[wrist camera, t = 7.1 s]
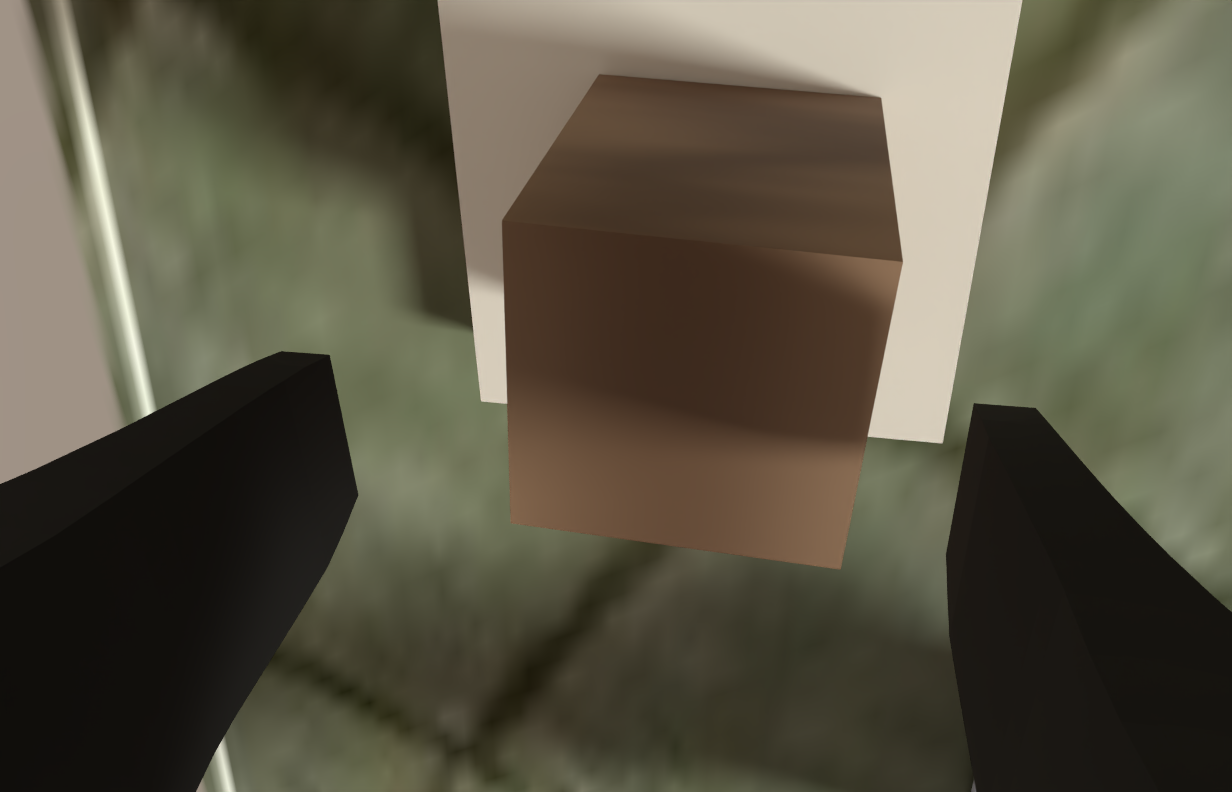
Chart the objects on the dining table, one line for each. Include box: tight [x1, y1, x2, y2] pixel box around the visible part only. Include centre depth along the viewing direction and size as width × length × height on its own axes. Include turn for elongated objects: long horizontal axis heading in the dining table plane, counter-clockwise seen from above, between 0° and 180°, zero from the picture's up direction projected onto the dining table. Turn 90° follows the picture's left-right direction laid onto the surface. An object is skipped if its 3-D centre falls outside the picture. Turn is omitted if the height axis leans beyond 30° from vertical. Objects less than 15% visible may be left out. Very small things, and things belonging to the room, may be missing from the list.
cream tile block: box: [438, 0, 1022, 443], centre depth 19 cm, size 9×9×3 cm
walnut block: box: [502, 74, 903, 569], centre depth 15 cm, size 4×4×6 cm
